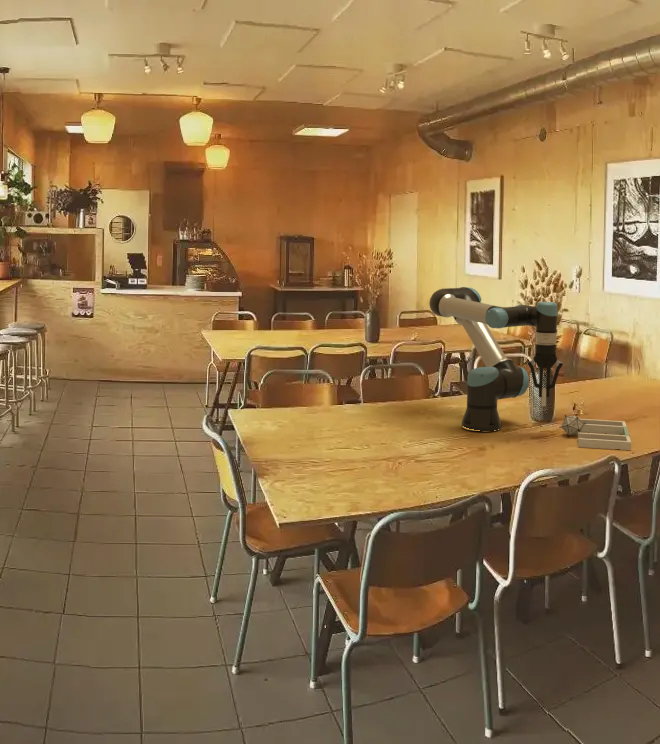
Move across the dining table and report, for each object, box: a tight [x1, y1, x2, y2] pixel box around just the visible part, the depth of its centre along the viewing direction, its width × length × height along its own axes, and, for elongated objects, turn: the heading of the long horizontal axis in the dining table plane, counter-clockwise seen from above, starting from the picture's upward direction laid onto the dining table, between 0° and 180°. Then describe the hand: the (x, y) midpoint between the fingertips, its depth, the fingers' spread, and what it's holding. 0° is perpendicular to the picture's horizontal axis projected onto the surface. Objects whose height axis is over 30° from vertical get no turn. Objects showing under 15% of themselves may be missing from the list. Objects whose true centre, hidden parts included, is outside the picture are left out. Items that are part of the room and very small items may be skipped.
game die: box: [558, 413, 586, 438], centre depth 307 cm, size 9×8×10 cm
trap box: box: [577, 418, 632, 451], centre depth 304 cm, size 18×32×3 cm, turn 164°
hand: (543, 405), depth 308 cm, fingers closed
